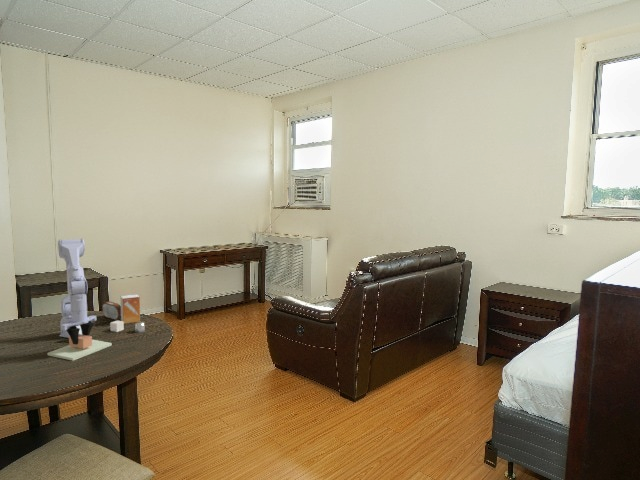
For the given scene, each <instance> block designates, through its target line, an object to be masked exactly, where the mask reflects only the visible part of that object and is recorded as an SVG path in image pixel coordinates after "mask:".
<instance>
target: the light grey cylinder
mask: <svg viewBox="0 0 640 480" xmlns="http://www.w3.org/2000/svg"><path fill="white" fill-rule="evenodd" d="M134 325H135V326H134V328H135V333H136V334H137V333H144V332H145V331H146V329H145V327H146V324H145V321H140V322H134Z"/></svg>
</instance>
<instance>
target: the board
mask: <svg viewBox="0 0 640 480" xmlns="http://www.w3.org/2000/svg"><path fill="white" fill-rule="evenodd" d="M111 346H112V342H108V341H102V340H97V339H92V346H89V347H86V348H84V349H83V348H78V347H73V346H69V345H66V346H62V347H60V348H56V349H55V350H51V351H49V352H47V356H49V357H54V358H59V359H65V360H68V361H72V362H74V361H76V360H78V359H81V358H83V357H86V356H88V355H92V354H94V353H96V352H99V351H101V350H103V349H106V348H109V347H111Z"/></svg>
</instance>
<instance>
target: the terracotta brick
mask: <svg viewBox="0 0 640 480" xmlns="http://www.w3.org/2000/svg"><path fill="white" fill-rule="evenodd" d="M92 340H93V337H92V335H89V336H87V335H81V334H78V344H73V342H72V340H71V337H69V338H68V344H69V346H73V347H78V348H83V349H84V348H86V347H89V346H92Z"/></svg>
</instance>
